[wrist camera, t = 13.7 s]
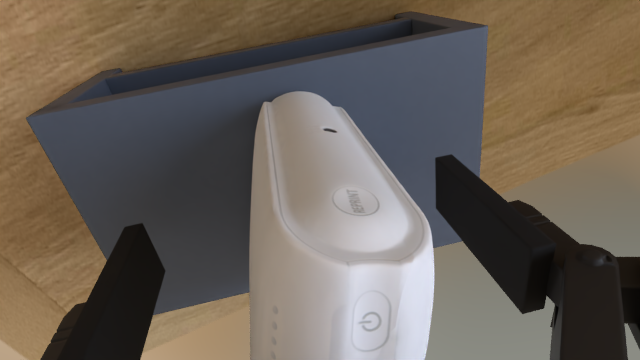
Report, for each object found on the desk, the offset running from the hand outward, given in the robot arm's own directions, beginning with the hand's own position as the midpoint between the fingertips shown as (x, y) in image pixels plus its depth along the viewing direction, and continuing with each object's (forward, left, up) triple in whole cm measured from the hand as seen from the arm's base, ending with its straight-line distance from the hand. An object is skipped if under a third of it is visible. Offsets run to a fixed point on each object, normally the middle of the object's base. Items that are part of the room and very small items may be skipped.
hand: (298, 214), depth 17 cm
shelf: (0, 0, -11) cm, 11 cm away
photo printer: (0, 0, -3) cm, 3 cm away
